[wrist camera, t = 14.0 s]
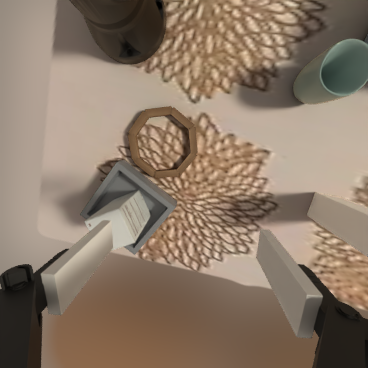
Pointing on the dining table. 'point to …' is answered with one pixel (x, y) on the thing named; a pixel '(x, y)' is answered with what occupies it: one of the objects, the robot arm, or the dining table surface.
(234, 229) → the dining table surface
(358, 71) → the cup
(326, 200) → the milk
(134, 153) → the ring
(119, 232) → the supplement box
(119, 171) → the bin
